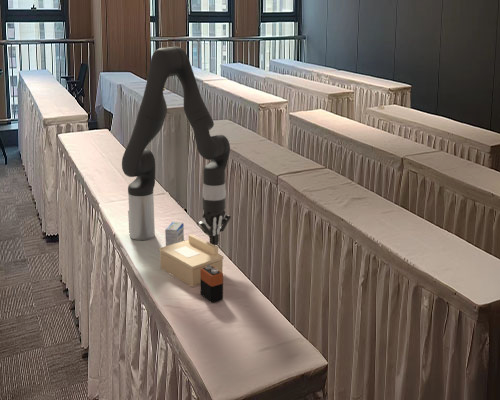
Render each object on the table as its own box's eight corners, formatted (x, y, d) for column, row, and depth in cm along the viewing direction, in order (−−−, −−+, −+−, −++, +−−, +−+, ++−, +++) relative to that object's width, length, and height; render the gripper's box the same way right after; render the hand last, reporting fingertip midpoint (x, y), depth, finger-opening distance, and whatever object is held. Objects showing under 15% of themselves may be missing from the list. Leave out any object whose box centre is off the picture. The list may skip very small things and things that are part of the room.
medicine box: (177, 253, 223) (177, 230, 221) (165, 251, 224) (165, 229, 221) (184, 244, 231) (183, 222, 228) (172, 243, 232) (172, 221, 229)
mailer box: (160, 268, 211) (160, 251, 209) (189, 258, 219) (189, 243, 217) (192, 287, 199) (192, 270, 197) (222, 276, 206) (222, 260, 204)
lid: (159, 251, 209) (159, 240, 208) (189, 241, 217) (189, 231, 216) (192, 269, 196) (192, 258, 195) (223, 259, 204) (223, 248, 203)
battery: (211, 303, 189) (211, 273, 185) (199, 294, 194) (199, 265, 191) (223, 300, 191) (223, 270, 188) (212, 291, 196) (212, 262, 193)
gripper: (222, 189, 213) (222, 236, 219) (191, 197, 205) (191, 246, 211) (236, 194, 208) (236, 243, 214) (205, 203, 200) (205, 253, 205)
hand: (214, 244), depth 212 cm, fingers closed
